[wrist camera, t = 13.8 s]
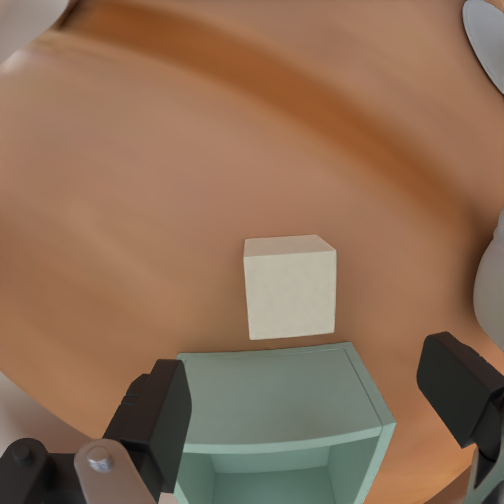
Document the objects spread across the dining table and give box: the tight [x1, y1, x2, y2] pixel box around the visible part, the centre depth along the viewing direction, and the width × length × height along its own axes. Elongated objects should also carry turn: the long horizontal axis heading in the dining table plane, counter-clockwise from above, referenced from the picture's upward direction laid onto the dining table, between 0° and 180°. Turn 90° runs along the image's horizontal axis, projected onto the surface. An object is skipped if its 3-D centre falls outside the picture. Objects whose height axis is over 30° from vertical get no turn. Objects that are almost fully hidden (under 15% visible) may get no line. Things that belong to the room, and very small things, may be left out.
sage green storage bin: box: [173, 341, 396, 504], centre depth 18 cm, size 16×13×9 cm
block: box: [243, 235, 336, 340], centre depth 17 cm, size 4×4×4 cm
